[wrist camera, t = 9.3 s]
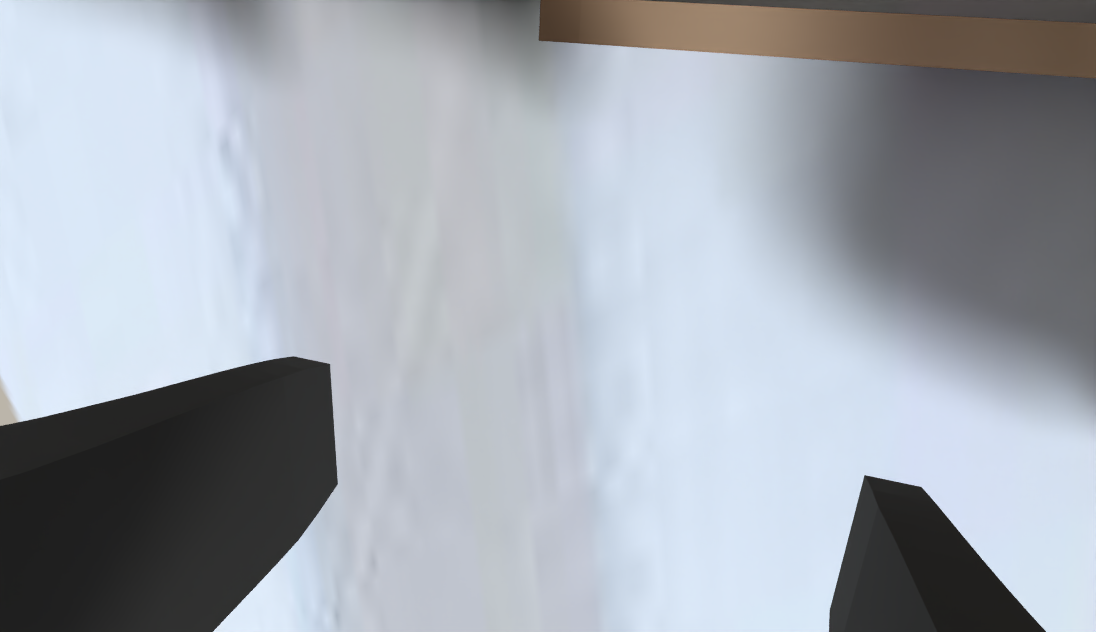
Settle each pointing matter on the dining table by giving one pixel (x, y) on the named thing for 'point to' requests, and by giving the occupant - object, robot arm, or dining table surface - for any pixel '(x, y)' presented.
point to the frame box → (828, 35)
